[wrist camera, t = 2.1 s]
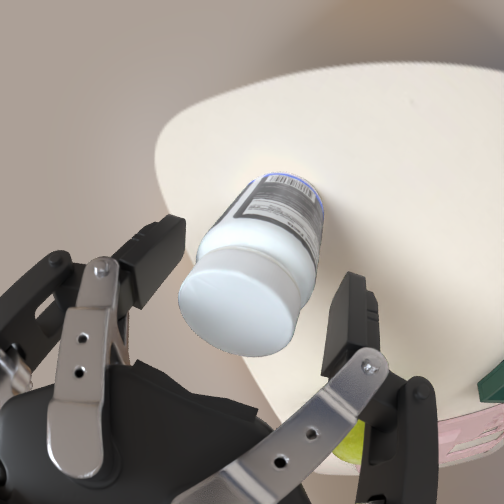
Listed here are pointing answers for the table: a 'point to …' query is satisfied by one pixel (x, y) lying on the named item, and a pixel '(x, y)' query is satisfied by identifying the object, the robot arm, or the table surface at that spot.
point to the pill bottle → (256, 267)
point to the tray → (492, 386)
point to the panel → (468, 433)
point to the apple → (352, 445)
